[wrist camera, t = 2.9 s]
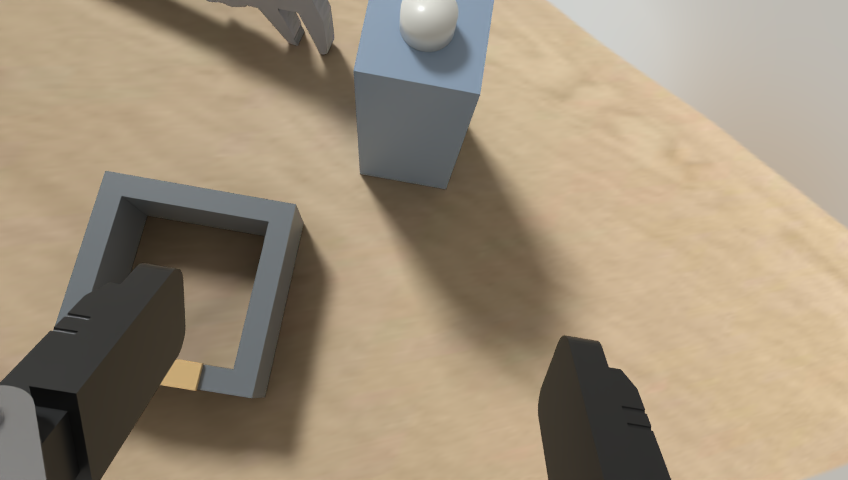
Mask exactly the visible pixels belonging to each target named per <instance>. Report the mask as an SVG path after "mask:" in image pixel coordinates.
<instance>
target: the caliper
mask: <svg viewBox="0 0 848 480" xmlns="http://www.w3.org/2000/svg"><path fill="white" fill-rule="evenodd" d="M207 1H209V2H220V3H224V4H226V5H228V6H231V7H246V6H247V5H248V6H252V7H256V8H258V9H259V10H260V11H261V12H262V13H263V14H264V15H265V17H266V18H267V19H268V20H269V21H270V22H271V23H272V25H273V26H274V27H275V28H276V29H277V30H278V31H279V33H280V34H281V35H282V36H283V37H284V38H285V39H286V40H287V42H288V43H290V44H293V45H296V46H298V44H299V42H300V40H301V38H302V36H303V34H304V29H303V28H302V26H301V22H300V19H299V18H298V16H297V14H296V12H297V13H299V15H300V17H301V19H302V21H303V22H304V24H305V26H306V28H307V30H308V32H309V34H310V35H311V37H312V39H313V41H314V43H315V45H316V47H317V49H318V51H319V53H320V54H327V53H328V51H329V49H330V47H331V44H332V42H333V40H334V28H333V21H332V13H331V6H330V4H329V2H328V0H207Z"/></svg>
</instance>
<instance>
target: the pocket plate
mask: <svg viewBox="0 0 848 480" xmlns="http://www.w3.org/2000/svg"><path fill="white" fill-rule="evenodd" d="M147 216H152V217H158V218H164V219H169V220H175V221H181V222H187V223H192V224H198V225H204V226H210V227H215V228H221V229H227V230H233V231H238V232H244V233H250V234H256V235H262V236H265V240H264V244H263V248H262V252H261V256H260V261H259V265H258V269H257V273H256V277H255V282H254V286H253V290H252V294H251V298H250V302H249V307H248V311H247V315H246V319H245V323H244V328H243V332H242V336H241V340H240V344H239V349H238V353H237V357H236V361H235V365H234V369H228V368H222V367H216V366H210V365H204V363H197V362H191V361H185V360H179V359H176V360H175V362H174V363H173V365H172V366H171V368H170V370H169V371H168V373H167V374H166V376H165V378H164V379H163V381H162V382H161V384H160V385H163V386H169V387H175V388H182V389H188V390H194V391H197V389H198V390H204V391H210V392H216V393H223V394H229V395H235V396H241V397H247V398H262V397H265V395H266V391H267V386H268V382H269V377H270V373H271V368H272V364H273V359H274V355H275V350H276V346H277V341H278V337H279V332H280V328H281V323H282V319H283V314H284V310H285V305H286V301H287V296H288V292H289V287H290V283H291V278H292V274H293V269H294V265H295V260H296V256H297V251H298V247H299V242H300V238H301V233H302V229H303V224H304V222H303V220H302V218H301V215H300V213H299V210H298V208H297V206H296V204H291V203H285V202H279V201H274V200H268V199H262V198H257V197H251V196H245V195H240V194H234V193H228V192H223V191H217V190H211V189H206V188H200V187H194V186H189V185H183V184H177V183H172V182H166V181H160V180H155V179H149V178H143V177H138V176H132V175H126V174H121V173H115V172H109V171H105V174H104V177H103V180H102V183H101V186H100V189H99V192H98V195H97V198H96V201H95V204H94V207H93V211H92V214H91V217H90V220H89V223H88V226H87V229H86V232H85V235H84V238H83V241H82V244H81V247H80V251H79V254H78V257H77V260H76V263H75V266H74V269H73V272H72V275H71V278H70V281H69V284H68V287H67V291H66V294H65V297H64V300H63V303H62V306H61V309H60V312H59V315H58V318H57V321H56V324H57V323H58V322H59V321H60V320H61V319H62V318H63V317H64V316H66V317H67V315H68V312H69V311H70V310H71V309H72V308H73V307H74V306H75V305H76V304H77V303H78V302H79V301H80V300H81V299H82V298H83V297H84V296H85V295H86V294H88V293H90V292H92V291H94V290H96V289H98V288H100V287H101V286H103V285H105V284H107V283H109V282H110V283H116V284H121V283H122V282H123V281H124V280H125V279H126V277H127V276H128V275H129V274H130V272H131V269H132V265H133V262H134V259H135V255H136V252H137V248H138V245H139V242H140V238H141V235H142V232H143V228H144V225H145V222H146V218H147ZM56 324H55V325H56Z"/></svg>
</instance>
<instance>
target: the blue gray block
mask: <svg viewBox="0 0 848 480" xmlns="http://www.w3.org/2000/svg"><path fill="white" fill-rule="evenodd" d="M493 4H494V0H369V1H368V6H367V10H366V15H365V20H364V24H363V29H362V34H361V38H360V43H359V48H358V52H357V57H356V62H355V66H354V85H355V101H356V117H357V133H358V149H359V165H360V174H363V175H369V176H374V177H380V178H386V179H391V180H397V181H402V182H408V183H414V184H419V185H425V186H430V187H436V188H441V189H446V187H447V185H448V182H449V179H450V176H451V174H452V171H453V168H454V165H455V163H456V160H457V157H458V154H459V151H460V149H461V146H462V143H463V140H464V138H465V135H466V132H467V129H468V127H469V124H470V121H471V118H472V115H473V113H474V110H475V107H476V104H477V102H478V99H479V96H480V92H481V85H482V78H483V71H484V65H485V58H486V51H487V44H488V38H489V31H490V24H491V17H492V10H493Z"/></svg>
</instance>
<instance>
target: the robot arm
mask: <svg viewBox="0 0 848 480" xmlns="http://www.w3.org/2000/svg"><path fill="white" fill-rule="evenodd" d="M184 336H185V308H184V286H183V275H182V272H181V270H180V269H176V268H171V267H165V266H159V265H153V264H147V263H140V264H139V265H138V266H136V267H135V269H134V270H133V271H132V272H131V273H130V274H129V275H128V276H127V277H126V279H125V280H124V281H123V282H122V283H121V284H116V283H110V282H109V283H107V284H105V285H103V286H101V287H100V288H98V289H96V290H94V291H92V292H90V293H88V294H86V295H85V296H84V297H83V298H82V299H81V300H80V301H79V302H78V303H77V304H76V305H75V306H74V307H73V308H72V309H71V310H70V311H69V312H68V315H67V317H66V316H64V317H63V318H62V319H61V320H60V321H59V322H58V323H57V324H56V325H55V326H54V330H53V331H50V332H49V333H48V334H47V335H46V336H45V337H44V338H43V339H42V340H41V341H40V342H39V343H38V344H37V345H36V346H35V347H34V348H33V349H32V350H31V351H30V352H29V353H28V354H27V355H26V356H25V358H24V359H23V360H22V361H21V362H20V363H19V364H18V365H17V366H16V367H15V368H14V369H13V370H12V371H11V372H10V373H9V374H8V375H7V376H6V377H5V378H4V379H3V380H2V381H1V382H0V480H101V478H102V476H103V475H104V473H105V472H106V470H107V468H108V467H109V465H110V464H111V462H112V461H113V459H114V457H115V456H116V454H117V453H118V451H119V449H120V448H121V446H122V445H123V443H124V441H125V440H126V438H127V437H128V435H129V433H130V432H131V430H132V429H133V427H134V425H135V424H136V422H137V421H138V419H139V417H140V416H141V414H142V413H143V411H144V409H145V408H146V406H147V405H148V403H149V401H150V400H151V398H152V397H153V395H154V394H155V392H156V390H157V389H158V387H159V386H160V384H161V382H162V381H163V379H164V378H165V376H166V374H167V373H168V371H169V370H170V368H171V366H172V365H173V363H174V362H175V360H176V358H177V357H178V355H179V353H180V350H181V348H182V344H183V341H184ZM538 417H539V424H540V430H541V436H542V442H543V449H544V455H545V461H546V468H547V474H548V480H671V478H670V475H669V473H668V470H667V467H666V465H665V462H664V459H663V457H662V454H661V451H660V449H659V446H658V443H657V441H656V438H655V435H654V432H653V431H651V424H650V422H649V419H648V416H647V414H645V408H644V406H643V403H642V400H641V398H640V395H639V392H638V390H637V388H636V387H635V386H634V385H633V383H632V382H631V381H630V380H629V379H628V377H627V376H626V375H625V374H624V373H623V371H622V370H621V369H615V368H609V367H608V364H607V361H606V358H605V354H604V351H603V348H602V346H601V344H600V342H598V341H594V340H588V339H582V338H577V337H571V336H565V335H564V336H562V337H561V338H560V340H559V342H558V344H557V347H556V350H555V352H554V355H553V358H552V360H551V363H550V366H549V368H548V371H547V374H546V376H545V379H544V382H543V385H542V387H541V391H540V396H539V403H538Z"/></svg>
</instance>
